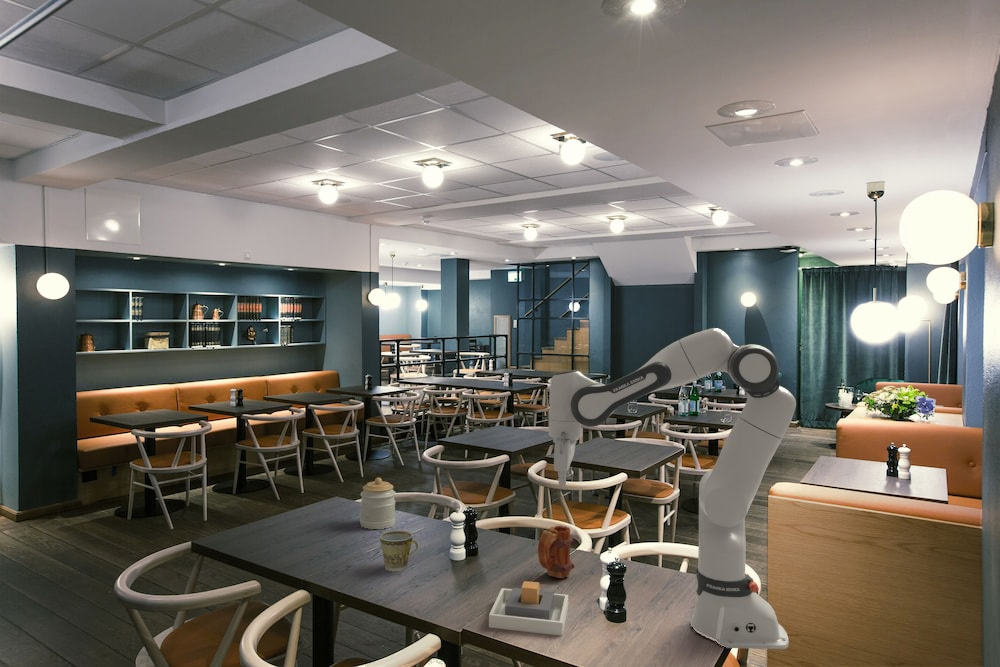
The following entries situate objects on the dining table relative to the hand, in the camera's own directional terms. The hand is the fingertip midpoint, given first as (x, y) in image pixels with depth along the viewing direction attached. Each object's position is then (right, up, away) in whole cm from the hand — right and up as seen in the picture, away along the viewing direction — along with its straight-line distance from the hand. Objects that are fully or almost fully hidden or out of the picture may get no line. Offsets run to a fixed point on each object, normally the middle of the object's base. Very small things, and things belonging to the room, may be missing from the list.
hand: (564, 480), depth 167 cm
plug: (-10, -32, -10) cm, 35 cm away
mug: (-1, -33, +17) cm, 37 cm away
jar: (-63, -32, +64) cm, 95 cm away
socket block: (-10, -32, -10) cm, 35 cm away
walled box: (-10, -33, -10) cm, 36 cm away
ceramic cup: (-48, -32, +22) cm, 62 cm away
